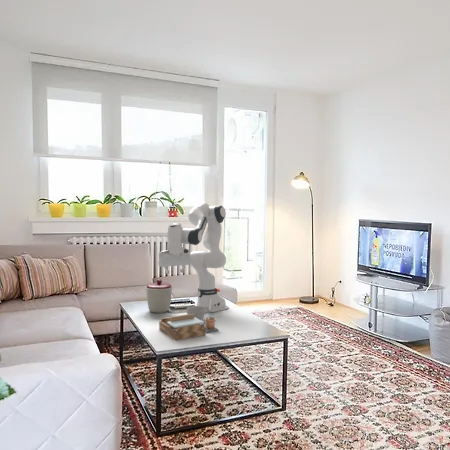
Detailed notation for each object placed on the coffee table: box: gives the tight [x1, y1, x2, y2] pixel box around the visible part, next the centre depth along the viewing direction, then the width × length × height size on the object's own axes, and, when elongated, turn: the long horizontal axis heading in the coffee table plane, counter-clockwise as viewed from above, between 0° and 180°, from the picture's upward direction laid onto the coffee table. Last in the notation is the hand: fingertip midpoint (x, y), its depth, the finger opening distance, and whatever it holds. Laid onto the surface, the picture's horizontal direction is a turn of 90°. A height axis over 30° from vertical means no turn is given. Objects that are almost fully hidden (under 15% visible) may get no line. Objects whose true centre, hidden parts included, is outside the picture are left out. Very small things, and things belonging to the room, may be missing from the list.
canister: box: [144, 278, 174, 314], centre depth 289 cm, size 18×18×21 cm
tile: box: [206, 327, 219, 334], centre depth 251 cm, size 8×8×1 cm
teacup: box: [186, 305, 209, 321], centre depth 270 cm, size 14×11×8 cm
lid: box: [167, 313, 205, 329], centre depth 242 cm, size 18×10×3 cm, turn 121°
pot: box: [205, 316, 216, 329], centre depth 252 cm, size 6×6×6 cm
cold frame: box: [158, 316, 206, 341], centre depth 246 cm, size 18×22×6 cm
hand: (174, 273), depth 267 cm, fingers open, 8 cm apart
